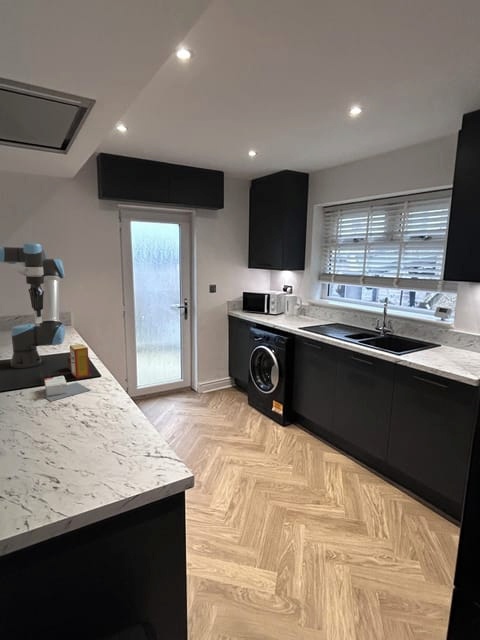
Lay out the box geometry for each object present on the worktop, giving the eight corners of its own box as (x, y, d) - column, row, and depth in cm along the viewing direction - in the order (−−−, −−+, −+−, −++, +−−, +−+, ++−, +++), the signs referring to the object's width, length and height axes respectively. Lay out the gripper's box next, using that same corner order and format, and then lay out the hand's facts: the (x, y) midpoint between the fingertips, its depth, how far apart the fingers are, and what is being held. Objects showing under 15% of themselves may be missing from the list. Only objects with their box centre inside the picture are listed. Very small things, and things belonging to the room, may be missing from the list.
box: (77, 371, 195) (76, 358, 194) (68, 370, 196) (67, 357, 195) (84, 367, 201) (83, 355, 200) (75, 366, 202) (74, 354, 201)
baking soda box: (89, 376, 188) (87, 346, 185) (76, 378, 184) (74, 348, 181) (84, 371, 195) (82, 343, 192) (71, 373, 191) (69, 344, 188)
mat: (38, 393, 164) (38, 392, 163) (76, 383, 177) (76, 382, 177) (51, 401, 155) (50, 400, 155) (90, 390, 168) (90, 389, 168)
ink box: (45, 388, 169) (46, 396, 159) (44, 378, 168) (45, 386, 158) (64, 385, 173) (67, 393, 163) (64, 375, 172) (66, 383, 162)
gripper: (21, 275, 173) (25, 322, 178) (31, 276, 165) (35, 326, 169) (37, 274, 179) (41, 320, 183) (48, 276, 171) (52, 323, 175)
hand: (38, 323), depth 176 cm, fingers closed
